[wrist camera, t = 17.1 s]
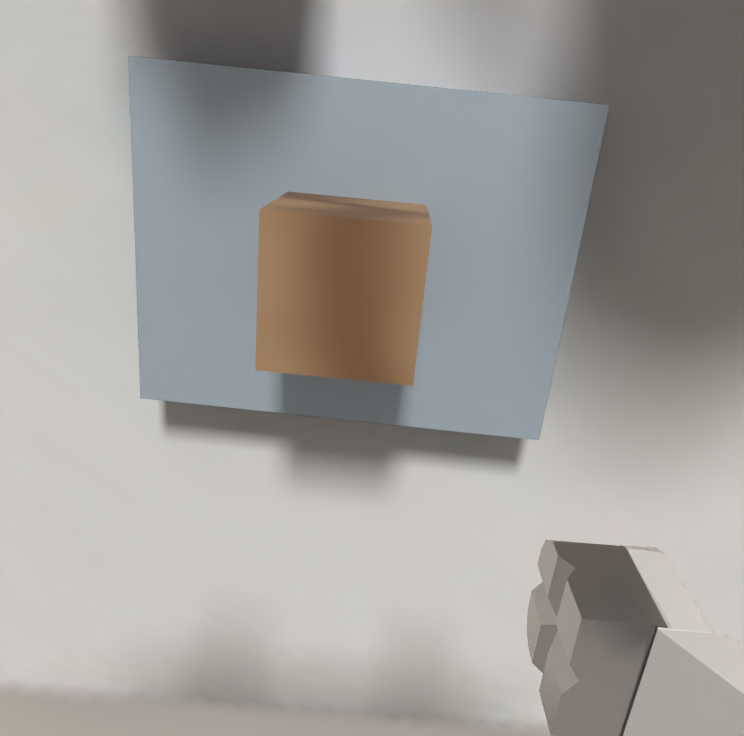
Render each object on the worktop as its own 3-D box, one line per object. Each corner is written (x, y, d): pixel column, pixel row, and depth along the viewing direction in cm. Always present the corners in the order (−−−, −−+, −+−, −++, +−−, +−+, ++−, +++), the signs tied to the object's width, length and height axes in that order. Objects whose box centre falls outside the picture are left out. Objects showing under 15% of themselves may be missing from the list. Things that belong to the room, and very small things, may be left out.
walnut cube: (282, 323, 28) (255, 370, 23) (287, 191, 26) (259, 209, 21) (411, 336, 28) (412, 385, 23) (426, 204, 26) (432, 225, 21)
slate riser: (163, 374, 32) (140, 398, 29) (156, 62, 27) (128, 55, 24) (526, 412, 32) (538, 440, 29) (587, 106, 27) (609, 104, 24)
